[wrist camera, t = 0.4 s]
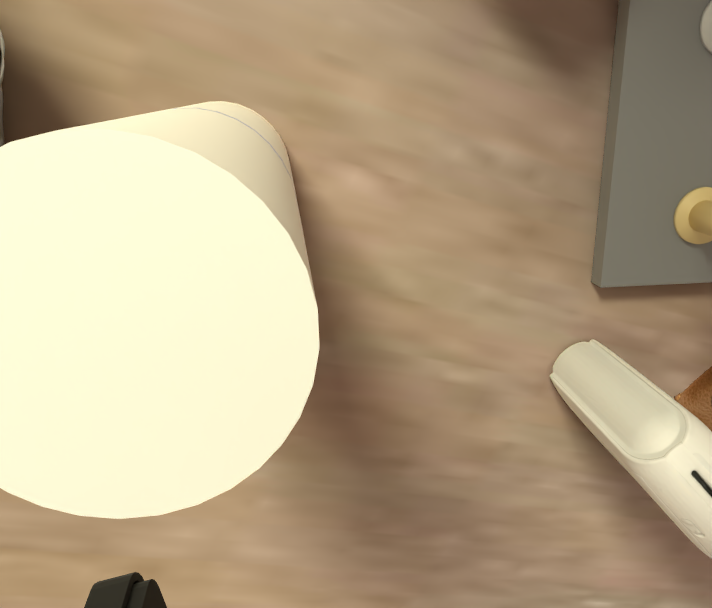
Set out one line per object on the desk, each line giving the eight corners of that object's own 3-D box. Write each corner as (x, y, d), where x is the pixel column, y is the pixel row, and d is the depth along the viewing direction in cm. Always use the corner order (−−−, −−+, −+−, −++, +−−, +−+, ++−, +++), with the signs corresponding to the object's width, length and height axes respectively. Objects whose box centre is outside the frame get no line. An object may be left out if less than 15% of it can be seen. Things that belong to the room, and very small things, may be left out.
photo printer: (678, 430, 43) (827, 556, 32) (626, 472, 44) (754, 611, 32) (589, 324, 40) (718, 420, 29) (535, 370, 41) (639, 483, 29)
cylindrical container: (317, 158, 36) (399, 296, 12) (240, 263, 37) (175, 578, 13) (203, 71, 34) (30, 28, 10) (125, 185, 35) (-192, 390, 11)
